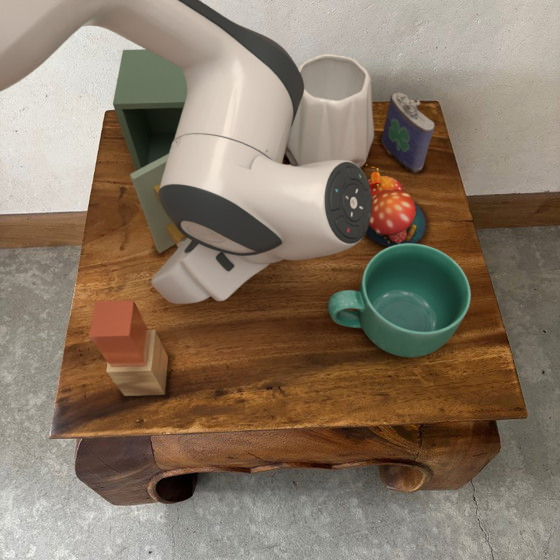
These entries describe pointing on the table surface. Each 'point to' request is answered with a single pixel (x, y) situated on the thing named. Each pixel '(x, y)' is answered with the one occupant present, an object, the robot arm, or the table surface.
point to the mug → (406, 300)
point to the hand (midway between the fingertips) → (191, 236)
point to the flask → (407, 132)
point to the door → (155, 204)
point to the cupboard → (148, 104)
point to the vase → (332, 112)
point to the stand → (143, 372)
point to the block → (120, 333)
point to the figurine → (393, 213)
